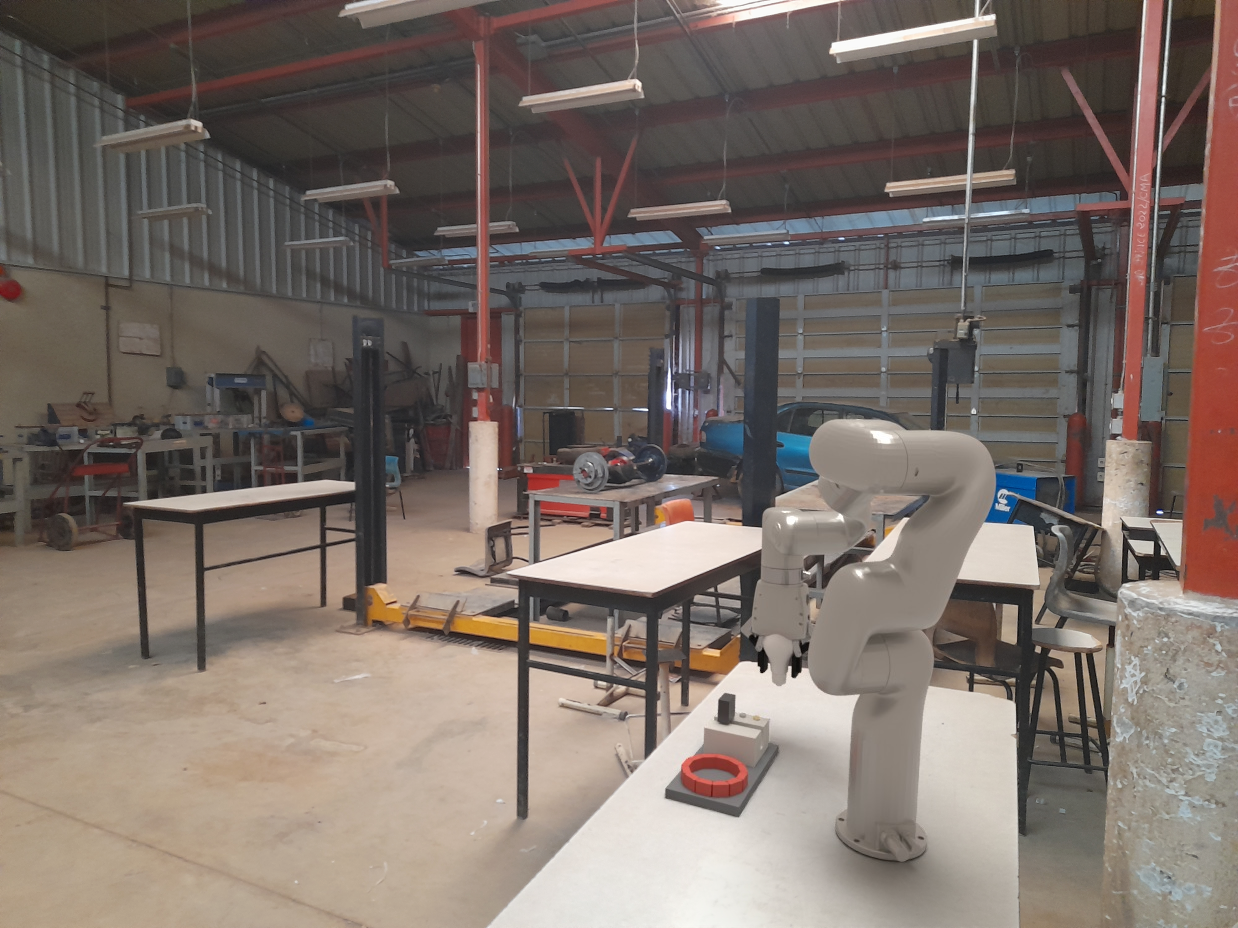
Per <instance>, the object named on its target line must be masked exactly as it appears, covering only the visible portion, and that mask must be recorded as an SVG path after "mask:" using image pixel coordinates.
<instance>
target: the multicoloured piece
mask: <svg viewBox="0 0 1238 928" xmlns="http://www.w3.org/2000/svg"><path fill="white" fill-rule="evenodd" d="M717 721H718V712H716V714H715V715H714V716H713V719H711V720H709V721H708V723H707V724H706V725H705V726H704V727H703V744H702V745H701V746H700V747H699V748H698V750H697V751H696V752H695V753H694V754H693V755H692V756H689V757H687V758H686V759H685V760H684V761H683V762H682V764H681V766H680V771H679V772H678V773H677V774H676V775H675V777H674V778H673V779H672V780H671V781H670V782H669V784H667V786H666V787H665V789H664V791H665V793H664V798H666V799H670V800H673V801H677V802H681V803H686V804H689V805H692V806H697V807H701V808H703V809H708V810H710V811H711V810H712V811H715V812H719V813H723V814H727V815H731V816H733V817H734V816H735V817H739V816H740V815H741V813H742V812H743V811H744V809H745V807H746V806H747V804H748V802H749V801H750V799H751V798H752V796H753V794H754V793H755V791H756V790H757V788H758V786H759V785H760V784H761V782H762V780H763V778H764V777H765V775H766V774H767V772H768V770H769V769H770V767H771V766H772V764H773V762H774V761H775V759H776V757H777V756H778V754H779V751H780V750H779V748H780V744H777V743H772V742H769V741H770V739H769V738H770V737H769V735H770V718H766V717H761V716H759V715H751V714H747V713H744V712H737V711H735V717H734V718H733V719H732V721H731V722H730V724H725V723H720V722H717Z"/></svg>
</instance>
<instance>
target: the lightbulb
mask: <svg viewBox="0 0 1238 928" xmlns="http://www.w3.org/2000/svg"><path fill="white" fill-rule="evenodd" d="M763 648H764V650H765V652H766V654H767V656H768V662H769V666H770V672H771V681H772V683H773V684H775V685H776V686H777V687H782V686H783V685H785V684H787V676H788V675H787V674H788V672H789V665H790V662H791V661H792V656H793V655H794V649H793V644H792V641H791V640H789V639H786V638H785V637H783V636H781V635H778V634H773V635H770V636H766V637H764V641H763Z"/></svg>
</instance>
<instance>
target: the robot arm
mask: <svg viewBox="0 0 1238 928" xmlns="http://www.w3.org/2000/svg"><path fill="white" fill-rule="evenodd" d="M808 447H809V448H808V457H809V462H810V464H811V467H812V469H813V470H814V471H815V472H816V474H817V475H818V476H819V477H818V481H817V489H818V493H819V496H820V497H821V499H822V501H823V502H824V503H825V504H826V505H827V507H829V508H830V509H831V510H825V511H824V510H819V511H818V510H817V511H816V510H814V511H813V510H812V511H811V510H810V511H808V510H807V511H802V510H801V509H799V508H795V507H788V506H775V507H768V508H766V509H765V510H764V511H763V513H762V520H761V524H762V525H761V527H762V528H761V553H760V554H761V560H760V564H761V565H760V578H759V579H758V581H757V583H756V586H755V591H754V597H753V603H752V612H751V616H750V617H749V619H748V620H746V622H745V623H744V624H743V625H742V626H741V627H740V632H741V633H742V634H743V635H744V636H745V637H747V639H748V640H749V642H750V644H752V645H753V647H754V648H755V651H757V661H756V662H757V667H758V668H759V674H765V673H766V671H767V670H769V658H768V656H767V654H766V652H765V650H764V648H763V641H764V637H766V636H770V635H773V634H778V635H781V636H783V637H785V638H786V639H789V640H791V641H792V644H793V649H794V655H793V656H792V658H791V667H790V669H791V674H790V677H791V678H792V679H796V678H797V677H798V676H799V674H802V671H803V655H804V654H805V653H807V668H808V673H809V676H810V678H811V681H812V682H813V684H814V685H815V687H817V689H818V690H819V691H822V693H824V694H826V695H830V696H836V697H841V696H842V697H847V696H855V695H857V696H858V698H857V700H856V701H855V705H854V708H853V710H852V714H851V715H852V716H851V727H850V728H851V729H850V742H849V743H850V744H849V745H850V746H849V747H850V748H849V762H848V763H849V764H848V786H847V787H848V788H847V800H846V801H847V805H846V806H847V807H846V809H844V810H842V811H841V812H839V814H838V815H837V816H836V818H835V822H834V823H835V824H834V825H835V827H834V828H835V832H836V834H837V836H838V838H839V839H840V840H841V842H843V843H844V844H845V845H847V846H848V847H849V848H851V849H852V850H853V851H856V852H858V853H860V854H862V855H865V856H869V857H871V858H874V859H875V858H876V859H879V860H886V861H898V862H902V863H903V862H906V861H907V860H912V859H915V858H917V857H919V856H921V855H922V854H923V853H924V852H925V850H926V849H927V845H928V843H927V842H928V838H927V837H928V836H927V834H926V832H925V830H924V829H923V827H922V826H921V825H919V823H918V822H917V816H918V815H917V813H918V797H919V795H918V794H919V778H920V762H921V761H920V760H921V749H922V748H921V747H922V746H921V745H922V736H923V735H922V734H923V720H924V711H925V703H926V698H927V693H928V690H929V686H930V683H931V679H932V675H933V672H934V665H935V654H934V649H933V645H932V643H931V640H930V639H929V637H928V636H927V635H926V634H925V632H924V631H923V630H926V629H929V628H931V627H934V626H935V625H936V624H937V623H938V622H939V620H940V619H941V617H942V616H943V614H944V612H945V610H946V607H947V605H948V602H949V600H950V597H951V594H952V593H953V590H954V587H955V586H956V582H957V580H958V577H959V574H960V572H961V570H962V567H963V565H964V562H965V559H966V557H967V554H968V552H969V550H970V547H971V546H972V544H973V543H974V540H975V538H976V537H977V536H978V533H979V532H980V530H981V528H982V526H983V525H984V524H985V522H986V519H987V518H988V516H989V512H990V510H991V508H992V506H993V503H994V499H995V495H996V487H997V477H996V475H997V474H996V468H995V464H994V461H993V458H992V455H991V453H990V452H989V449H988V448H987V447H986V446H985V445H984V444H983V443H982V442H981V441H980V440H979V439H977V438H976V437H974V436H971V435H969V434H965V433H962V432H957V431H952V430H951V431H950V430H936V429H935V430H934V429H933V430H932V429H931V430H929V429H924V430H923V429H922V430H921V429H920V430H919V429H917V430H916V429H915V430H912V429H911V430H907V429H905V428H904V427H902V426H901V425H899V424H898V423H895V422H892V421H889V420H883V419H862V418H861V419H856V418H855V419H853V418H850V419H849V418H847V419H846V418H845V419H844V418H841V419H840V418H838V419H831V420H827V421H825V422H824V423H822V425H820V426H819V427H818V428H817V429H816V430H815V431H814V434H812V437H811V440H810V443H809V446H808ZM877 496H878V497H879V496H880V497H881V496H882V497H889V496H891V497H892V496H894V497H896V496H929V498H928V500H927V501H926V502H925V503H923V505H921V506H920V507H919V508H918V509H916V511H915V512H914V513H912V515H911V516H910V517H909V519H908V520H907V521H906V522H905V523H904V525H903V527H902V528H901V530H900V532H899V535H898V538H897V541H896V543H895V546H894V549H893V551H892V553H891V555H890V556H889V557H887V558H885V559H882V560H878V561H876V560H875V561H861V562H853V563H848V564H846V565H844V566H842V567H841V568H839V569H838V570H836V572H834V574H832V576H831V578H830V580H829V582H828V583H827V586H826V589H825V592H824V593H823V594H824V595H823V598H822V601H821V604H820V607H819V611H818V614H817V617H816V620H815V624H813V623H812V620H811V619H812V616H811V615H812V614H811V599H810V598H811V597H810V591H809V584H808V583H806V582H804V581H806V580H811V579H812V572H811V571H807V570H806V569H805V566H804V561H805V560H804V556H806V557H807V556H820V555H821V556H822V555H825V556H826V555H839V554H842V553H846V552H848V551H849V550H852V548H854V547H856V545H857V544H858V543H859V542H860V541H861V540H862V539H864V538H865V537H866V535H867V533H868V532H869V530H870V528H871V522H872V519H873V518H872V517H873V510H872V509H873V508H872V504H871V503H872V501H874V500H875V498H876V497H877ZM807 635H809V636H810V638H809V639H808V640H807V641H805V642H803V640H805V639H806V637H807ZM807 651H808V652H807Z"/></svg>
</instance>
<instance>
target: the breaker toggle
mask: <svg viewBox="0 0 1238 928" xmlns="http://www.w3.org/2000/svg"><path fill="white" fill-rule="evenodd" d="M736 698H737V695H736V694H734V693H733V694H732V693H728V692H724V693H723V694H722V695H721V696H720V697H719V698H718V699H717V701H718V702H717V713H718V721H717V722H720V723H725V724H730V722H731V721H732V719H733V718H734V717H735V712H736Z"/></svg>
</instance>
